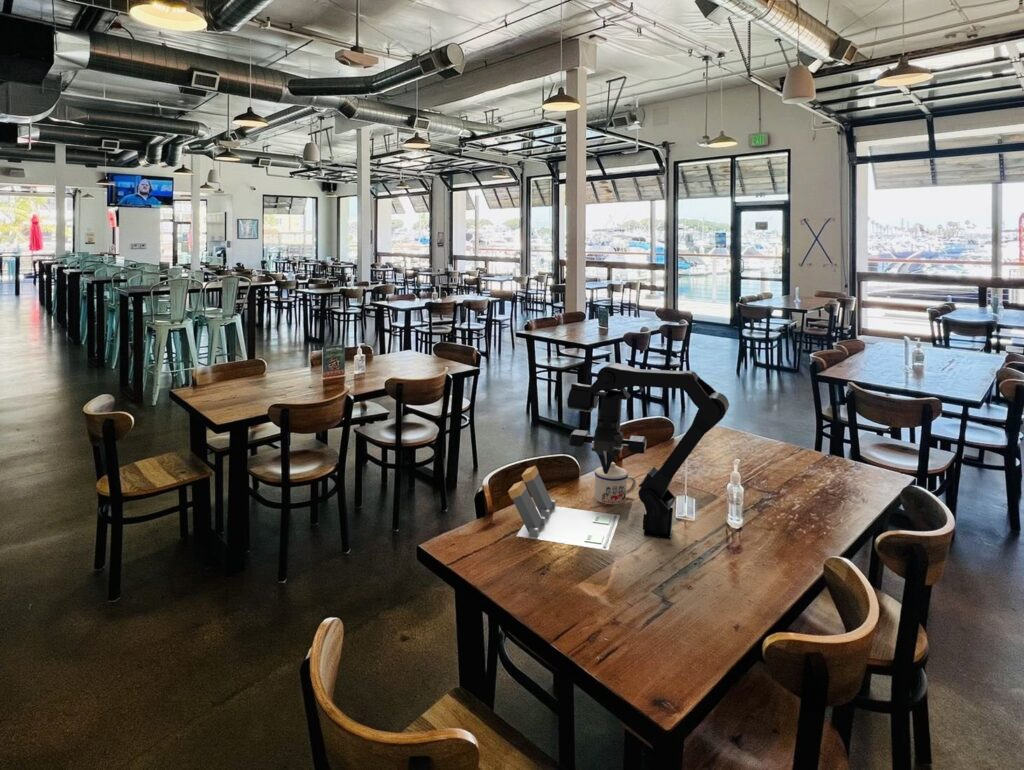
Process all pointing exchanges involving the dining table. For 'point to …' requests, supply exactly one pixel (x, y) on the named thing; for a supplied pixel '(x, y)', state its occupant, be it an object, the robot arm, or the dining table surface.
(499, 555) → the dining table surface
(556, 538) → the switch unit
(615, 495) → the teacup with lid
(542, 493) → the rocker
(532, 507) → the block
